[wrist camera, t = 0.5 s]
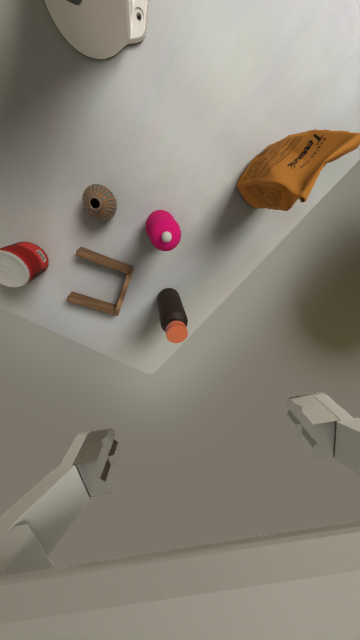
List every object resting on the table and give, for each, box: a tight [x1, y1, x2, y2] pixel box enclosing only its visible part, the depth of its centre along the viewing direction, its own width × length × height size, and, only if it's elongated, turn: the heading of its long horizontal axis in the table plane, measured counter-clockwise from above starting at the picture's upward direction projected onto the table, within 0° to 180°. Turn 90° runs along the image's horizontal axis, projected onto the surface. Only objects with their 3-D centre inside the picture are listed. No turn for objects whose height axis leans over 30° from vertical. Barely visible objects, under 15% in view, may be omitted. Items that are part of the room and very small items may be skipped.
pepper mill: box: [146, 210, 181, 251], centre depth 42 cm, size 7×7×20 cm
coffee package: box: [237, 130, 360, 211], centre depth 39 cm, size 10×12×22 cm
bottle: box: [158, 288, 188, 343], centre depth 53 cm, size 7×7×20 cm
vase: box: [82, 184, 117, 221], centre depth 42 cm, size 7×7×9 cm
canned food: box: [0, 242, 48, 288], centre depth 45 cm, size 8×8×11 cm
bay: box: [67, 247, 134, 316], centre depth 54 cm, size 14×14×4 cm
